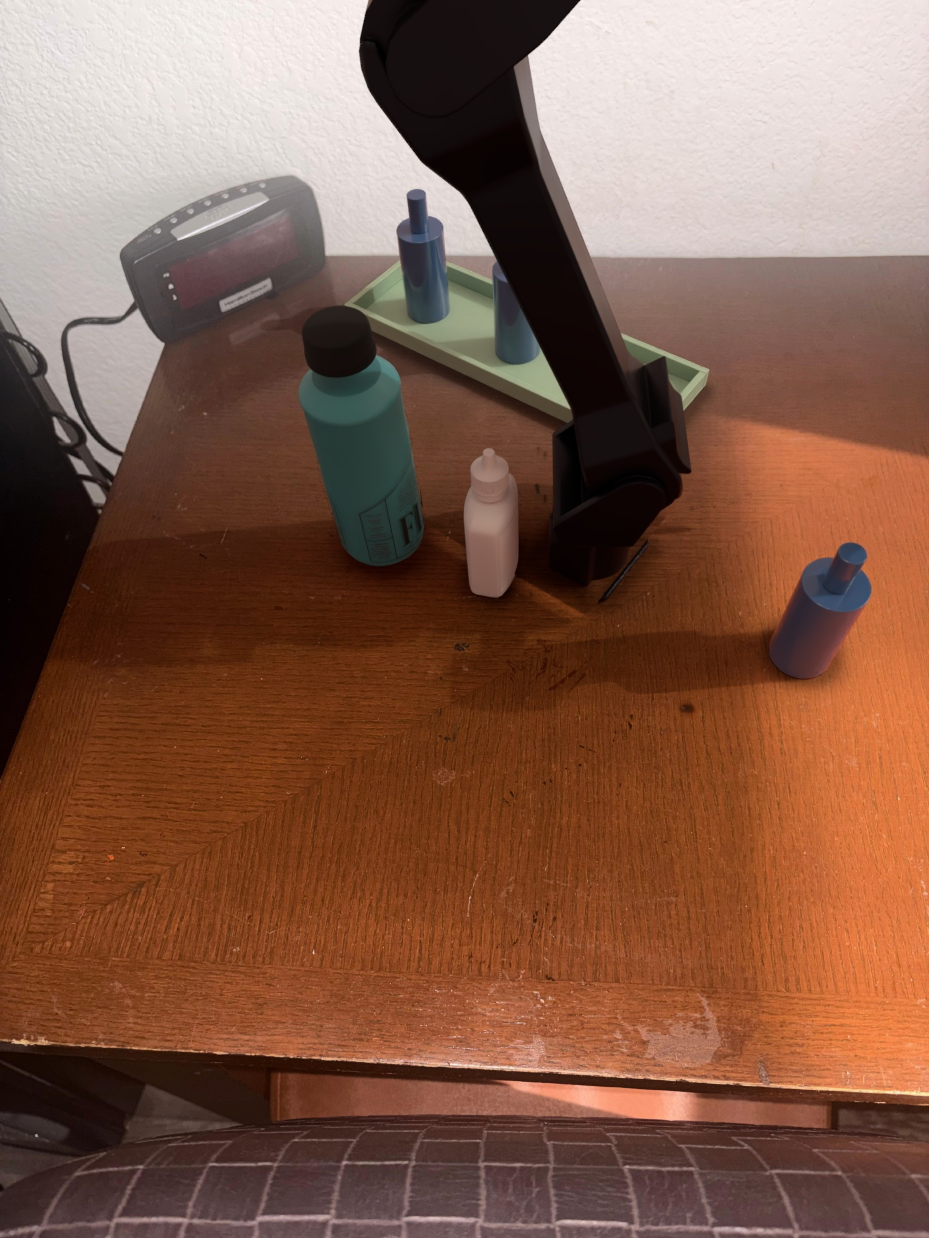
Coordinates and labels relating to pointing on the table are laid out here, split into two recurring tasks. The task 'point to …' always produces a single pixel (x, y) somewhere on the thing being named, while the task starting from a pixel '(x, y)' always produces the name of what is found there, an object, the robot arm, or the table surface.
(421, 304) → the blue bottle back
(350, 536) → the beverage bottle
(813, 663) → the blue bottle front
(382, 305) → the tray
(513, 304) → the blue bottle middle
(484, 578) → the eye dropper bottle
